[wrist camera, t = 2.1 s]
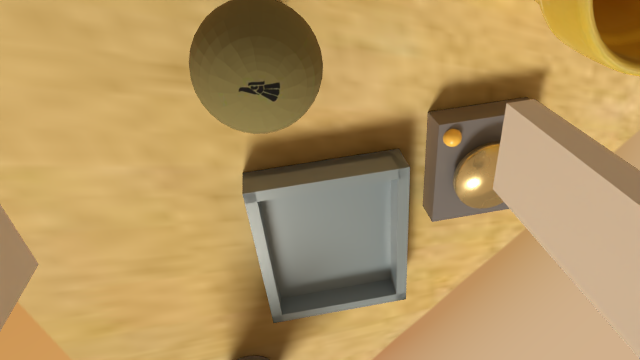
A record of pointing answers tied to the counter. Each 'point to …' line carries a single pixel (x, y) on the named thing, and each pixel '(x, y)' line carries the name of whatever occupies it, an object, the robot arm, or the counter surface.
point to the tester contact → (478, 177)
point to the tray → (331, 232)
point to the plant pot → (598, 30)
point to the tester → (457, 153)
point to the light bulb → (255, 65)
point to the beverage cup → (253, 358)
